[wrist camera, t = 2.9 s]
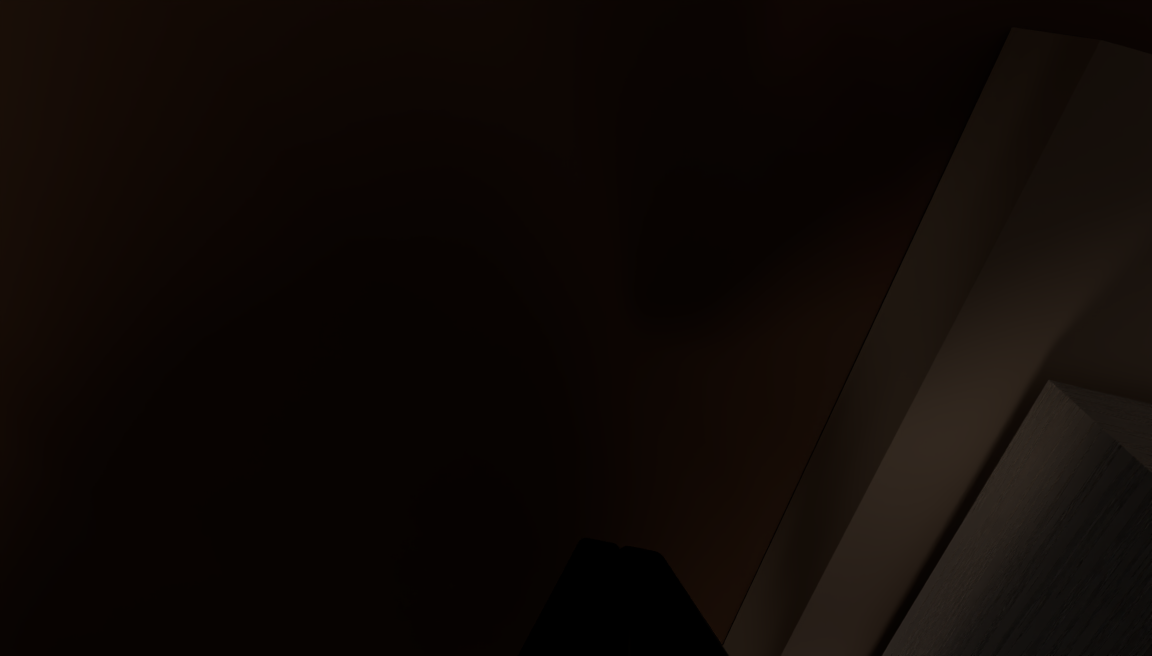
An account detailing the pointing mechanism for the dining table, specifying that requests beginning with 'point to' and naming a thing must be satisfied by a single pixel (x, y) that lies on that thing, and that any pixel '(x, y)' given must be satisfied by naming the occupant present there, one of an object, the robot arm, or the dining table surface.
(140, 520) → the dining table surface
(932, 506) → the gauge base
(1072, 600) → the push plate
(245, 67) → the dining table surface
